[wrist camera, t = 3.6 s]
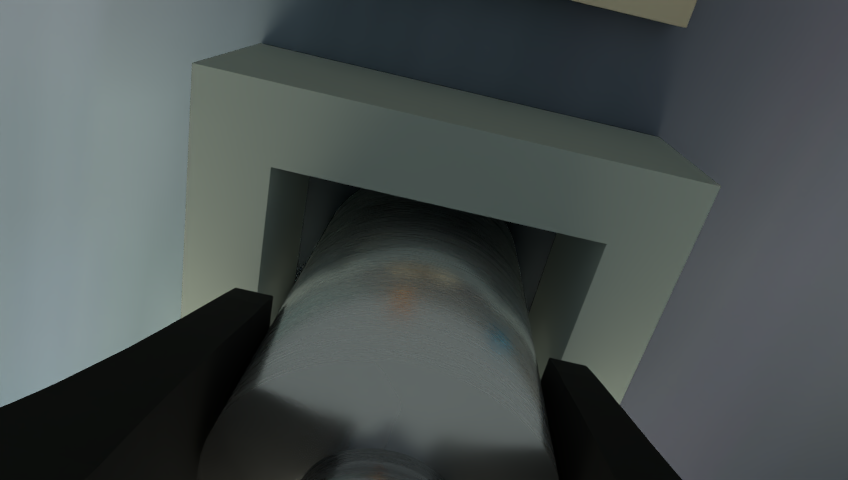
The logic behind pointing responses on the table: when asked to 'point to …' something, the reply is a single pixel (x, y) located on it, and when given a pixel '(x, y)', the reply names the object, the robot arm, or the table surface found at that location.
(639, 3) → the coaster
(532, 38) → the table surface
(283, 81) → the housing
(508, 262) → the grey cylinder
